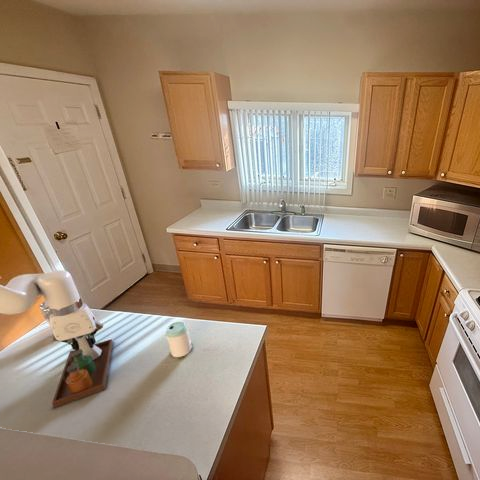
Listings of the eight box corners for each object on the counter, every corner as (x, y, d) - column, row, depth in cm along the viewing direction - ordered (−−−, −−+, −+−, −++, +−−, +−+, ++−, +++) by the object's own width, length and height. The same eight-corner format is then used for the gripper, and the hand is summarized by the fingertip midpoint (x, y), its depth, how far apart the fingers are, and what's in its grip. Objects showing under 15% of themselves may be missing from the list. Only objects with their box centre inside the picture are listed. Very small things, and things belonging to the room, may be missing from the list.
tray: (105, 389, 83) (103, 384, 82) (54, 407, 77) (51, 403, 76) (113, 342, 100) (111, 339, 99) (72, 355, 94) (70, 351, 93)
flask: (100, 345, 98) (92, 325, 94) (103, 356, 93) (95, 336, 89) (75, 355, 93) (65, 335, 89) (77, 368, 88) (66, 347, 84)
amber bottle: (69, 397, 79) (58, 377, 75) (73, 384, 83) (63, 364, 79) (91, 390, 82) (81, 369, 78) (94, 377, 86) (84, 357, 82)
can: (174, 361, 93) (167, 337, 89) (169, 349, 98) (162, 325, 93) (194, 351, 98) (189, 327, 93) (188, 340, 102) (183, 317, 98)
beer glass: (66, 339, 101) (51, 309, 95) (48, 338, 101) (32, 308, 95) (81, 326, 107) (68, 297, 101) (65, 325, 107) (51, 296, 101)
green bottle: (74, 381, 84) (64, 361, 80) (78, 369, 88) (68, 349, 84) (94, 374, 87) (85, 354, 83) (97, 363, 91) (88, 344, 87)
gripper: (27, 321, 77) (51, 364, 84) (97, 305, 85) (113, 345, 92) (36, 307, 83) (57, 348, 90) (100, 293, 91) (115, 332, 98)
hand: (85, 346), depth 91 cm, fingers closed on flask, 3 cm apart
